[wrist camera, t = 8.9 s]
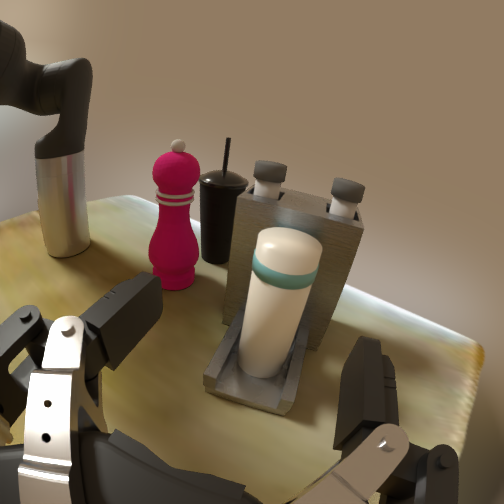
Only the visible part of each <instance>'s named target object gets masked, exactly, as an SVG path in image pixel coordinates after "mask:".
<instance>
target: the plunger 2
mask: <svg viewBox="0 0 504 504" xmlns="http://www.w3.org/2000/svg"><path fill="white" fill-rule="evenodd" d="M364 190H365V187H364V186H363V185H361V184H359V183H356V182H353V181H350V180H347V179H343V178H334V182H333V186H332V190H331V194H332V195H333V199H332V203H331V207H330V211H329V213H331V214H334V215H338V216H342V217H345V218H349V219H352V220H353V219H354V215H355V212H356V208H357V204H358V203H360V202H361V201H362V198H363V194H364Z"/></svg>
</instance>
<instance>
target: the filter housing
mask: <svg viewBox="0 0 504 504" xmlns="http://www.w3.org/2000/svg"><path fill="white" fill-rule="evenodd" d="M254 188H255V184H254V185H253V186H251V187H250V188H248V189H247V190H246V191H244V192H243V193H242V194H240V195H239V196H238V197H237V202H236V210H235V217H234V225H233V233H232V242H231V250H230V258H229V267H228V275H227V284H226V293H225V302H224V312H223V321H222V323H223V324H226V325H229V326H230V327H229V329H228V330H227V332H226V334H225V336H224V338H223V340H222V341H221V343H220V345H219V347H218V349H217V350H216V352H215V354H214V356H213V358H212V359H211V361H210V363H209V365H208V367H207V368H206V370H205V372H204V374H203V385H204V386H205V391H206V392H209V393H211V394H214V395H217V396H220V397H222V398H225V399H228V400H231V401H234V402H237V403H240V404H243V405H246V406H250V407H253V408H256V409H260V410H263V411H267V412H270V413H274V414H278V415H282V416H284V415H285V413H286V412H289V410H290V409H291V407H292V405H293V403H294V401H295V396H296V392H297V388H298V383H299V379H300V374H301V370H302V365H303V360H304V355H305V350H306V348H307V349H311V350H315V351H317V349H318V347H319V345H320V342H321V340H322V338H323V336H324V334H325V331H326V329H327V327H328V324H329V322H330V320H331V317H332V315H333V313H334V310H335V308H336V305H337V303H338V300H339V298H340V295H341V293H342V290H343V288H344V285H345V282H346V280H347V277H348V274H349V272H350V269H351V266H352V263H353V260H354V258H355V255H356V252H357V249H358V246H359V243H360V240H361V237H362V234H363V231H364V227H363V223H362V220H361V216H360V213H359V209H358V207H357V208H356V212H355V215H354V219H353V220H352V219H349V218H345V217H342V216H338V215H334V214H331V213H329V211H330V207H331V203H332V200H329V199H326V198H322V197H318V196H314V195H309V194H306V193H302V192H297V191H293V190H289V189H285V188H281V187H280V192H279V198H278V200H275V199H271V198H266V197H262V196H258V195H254ZM272 227H283V228H290V229H295V230H298V231H301V232H304V233H306V234H309V235H310V236H312V237H314V238H315V239H317V240H318V241H319V242H320V244H321V245H322V253H321V257H320V260H319V268H318V271H317V274H316V277H315V280H314V282H313V283H312V286H311V289H310V292H309V295H308V298H307V301H306V304H305V307H304V310H303V313H302V316H301V319H300V322H299V325H298V328H297V330H296V333H295V336H294V339H293V342H292V344H291V347H290V350H289V352H288V355H287V358H286V360H285V363H284V366H283V368H282V370H281V371H280V372H279V373H278V374H277V375H275V376H273V377H269V378H257V377H253V376H251V375H249V374H247V373H246V372H244V371H243V370H242V369H241V367H240V366H239V364H238V361H237V355H238V349H239V344H240V338H241V332H242V326H243V321H244V315H245V309H246V303H247V298H248V292H249V286H250V280H251V274H252V261H253V255H254V250H255V248H256V245H257V239H258V234H259V233H260V232H261V231H262V230H264V229H267V228H272Z"/></svg>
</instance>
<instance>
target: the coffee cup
mask: <svg viewBox="0 0 504 504" xmlns="http://www.w3.org/2000/svg"><path fill="white" fill-rule="evenodd" d="M321 253H322V245H321V244H320V242H319V241H318V240H317V239H315V238H314V237H312V236H310V235H309V234H306V233H304V232H301V231H298V230H295V229H290V228H283V227H272V228H267V229H264V230H262V231H261V232H260V233H259V234H258V239H257V245H256V248H255V250H254V255H253V261H252V274H251V280H250V286H249V292H248V298H247V303H246V309H245V315H244V321H243V326H242V332H241V338H240V344H239V349H238V355H237V361H238V364H239V366H240V367H241V369H242V370H243V371H244V372H246V373H247V374H249V375H251V376H253V377H257V378H269V377H273V376H275V375H277V374H278V373H279V372H280V371H281V370H282V368H283V366H284V363H285V360H286V358H287V355H288V352H289V350H290V347H291V344H292V342H293V339H294V336H295V333H296V330H297V328H298V325H299V322H300V319H301V316H302V313H303V310H304V307H305V304H306V301H307V298H308V295H309V292H310V289H311V286H312V283H313V282H314V280H315V277H316V274H317V271H318V268H319V260H320V257H321Z"/></svg>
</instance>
